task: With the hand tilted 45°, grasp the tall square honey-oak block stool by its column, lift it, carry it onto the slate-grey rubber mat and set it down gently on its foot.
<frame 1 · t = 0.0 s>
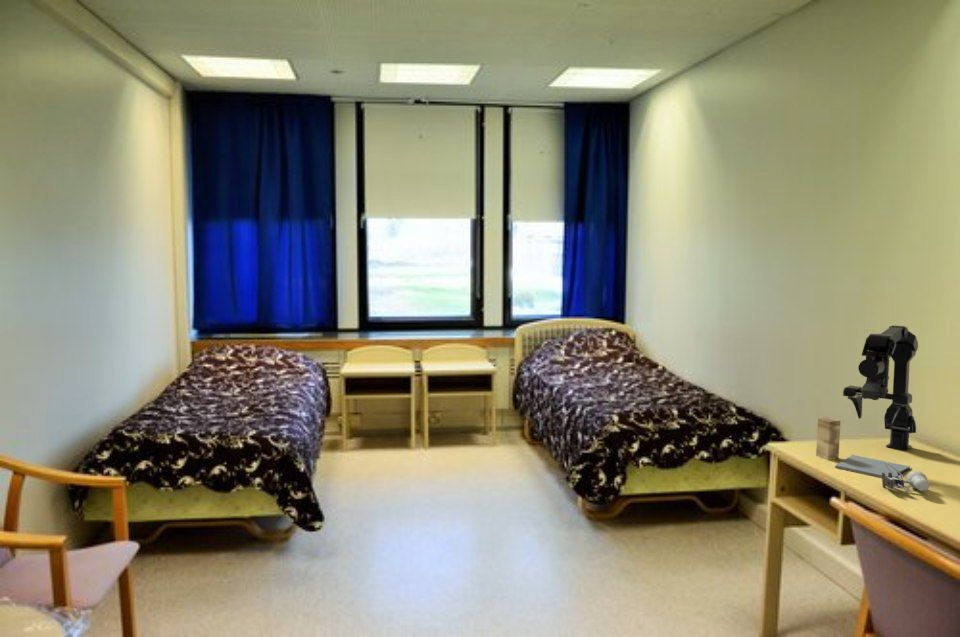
hand: (875, 420, 225), 15 cm above the table, tool pointing down, fingers open, 9 cm apart
slate mat: (872, 468, 223), on the table
clip-on lamp: (902, 486, 206), on the table
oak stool: (827, 457, 235), on the table
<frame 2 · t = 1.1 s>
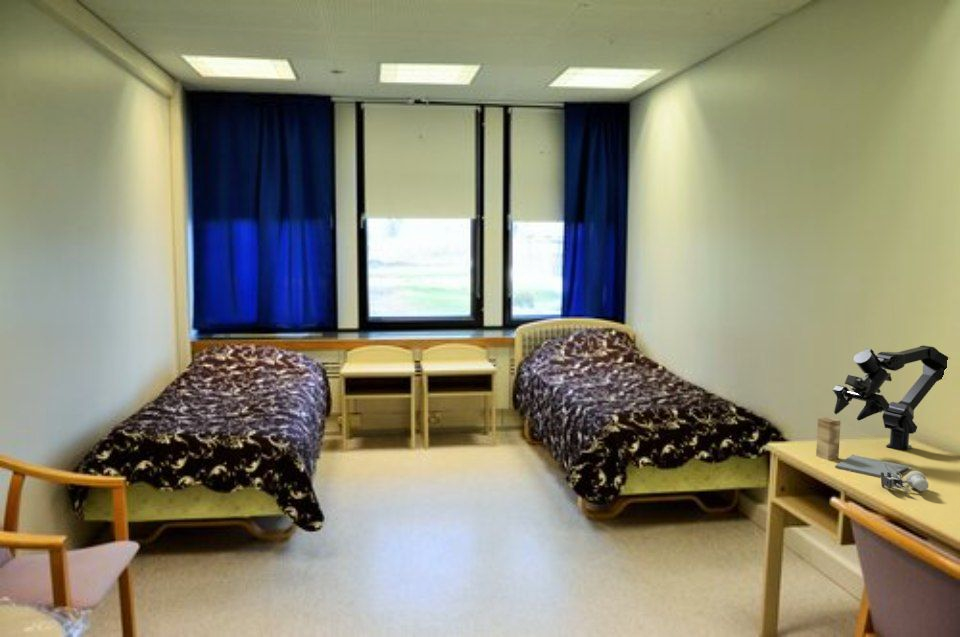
hand: (846, 416, 236), 13 cm above the table, tool tilted 45°, fingers open, 9 cm apart
clip-on lamp: (901, 486, 207), on the table, touching slate mat
everything else where it was.
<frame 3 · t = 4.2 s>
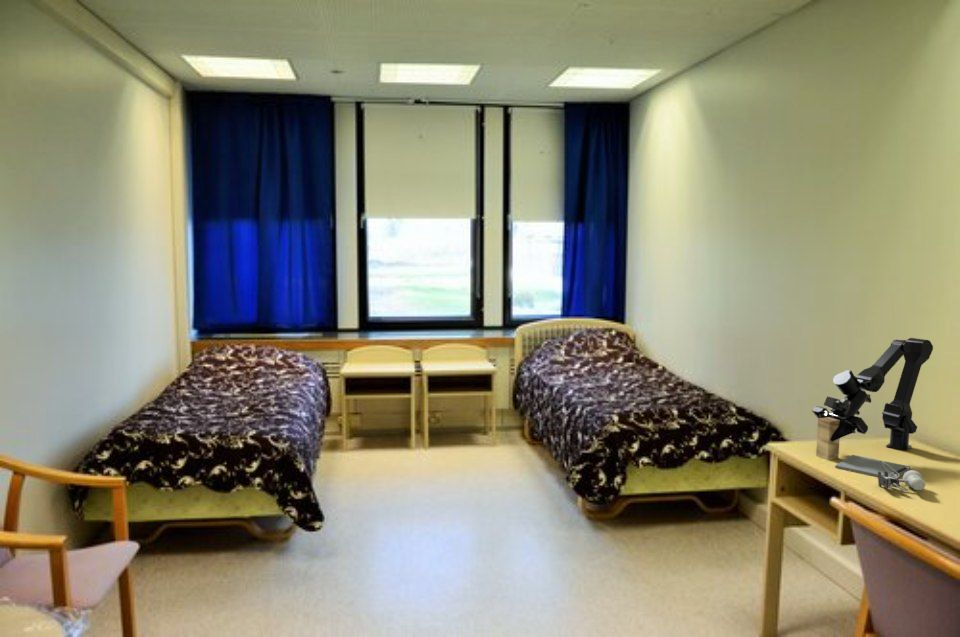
hand: (825, 438, 234), 7 cm above the table, tool tilted 45°, fingers closed on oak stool, 5 cm apart
clip-on lamp: (898, 485, 207), on the table
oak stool: (827, 457, 235), on the table, touching gripper
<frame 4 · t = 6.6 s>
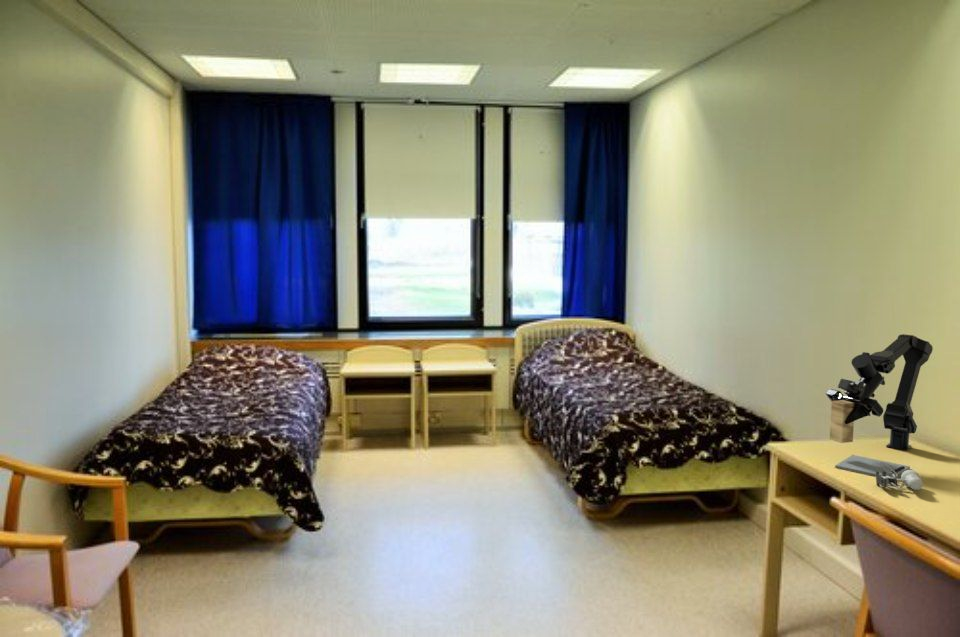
hand: (839, 421, 229), 13 cm above the table, tool tilted 45°, fingers closed on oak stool, 5 cm apart
clip-on lamp: (896, 484, 208), on the table, touching slate mat
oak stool: (841, 440, 230), point 7 cm above the table, touching gripper
when the fingers open (8 cm above the table, at t = 9.3 s): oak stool stays where it is, resting on slate mat.
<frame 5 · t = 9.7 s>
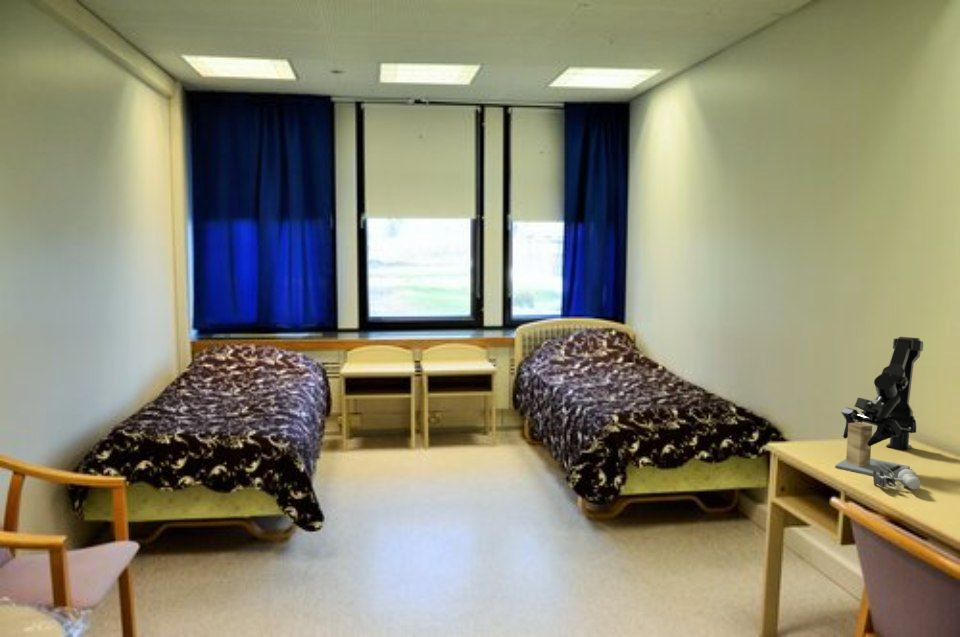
hand: (856, 441, 224), 8 cm above the table, tool tilted 45°, fingers open, 9 cm apart
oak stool: (857, 463, 225), point 1 cm above the table, touching slate mat
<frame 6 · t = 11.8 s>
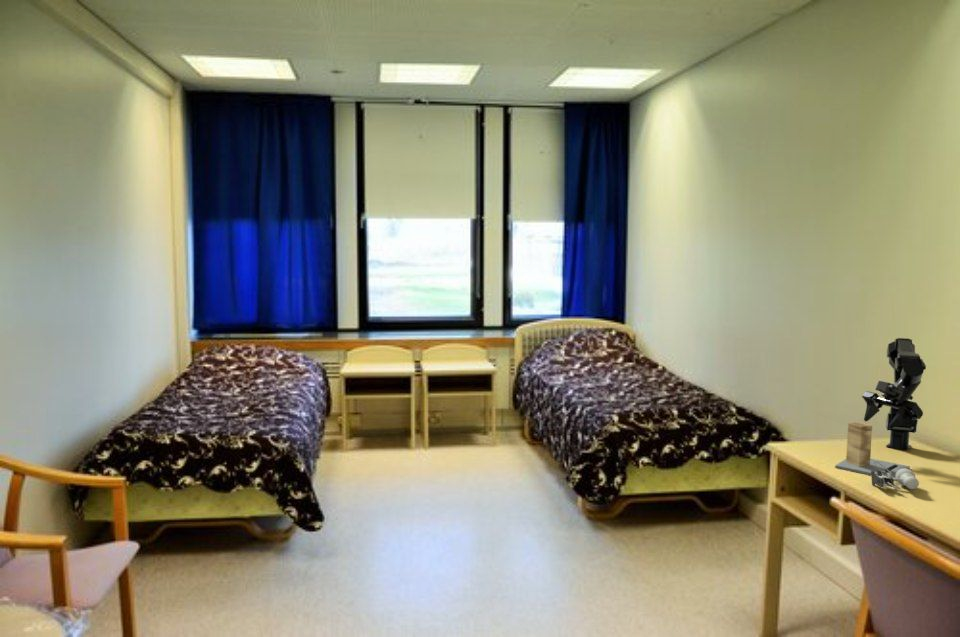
hand: (877, 424, 226), 13 cm above the table, tool tilted 45°, fingers open, 9 cm apart
clip-on lamp: (891, 483, 208), on the table
everything else where it was.
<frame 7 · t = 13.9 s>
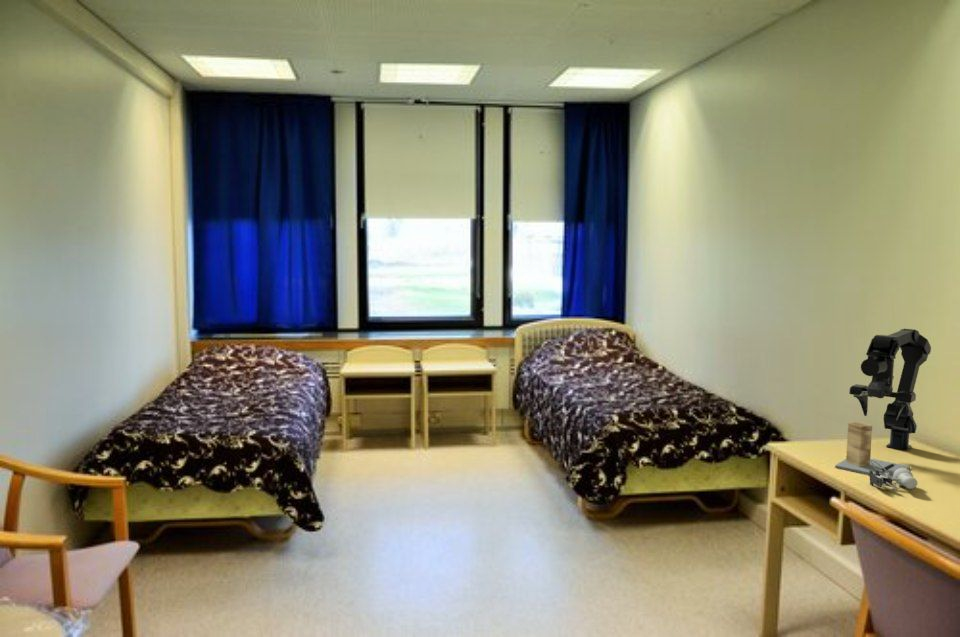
hand: (880, 418, 235), 13 cm above the table, tool pointing down, fingers open, 9 cm apart
at the end: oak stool inside the target area on the slate mat (4.4 cm from its centre), point 0.8 cm above the slate mat's base; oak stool tilted 0°; the gripper is holding nothing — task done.
